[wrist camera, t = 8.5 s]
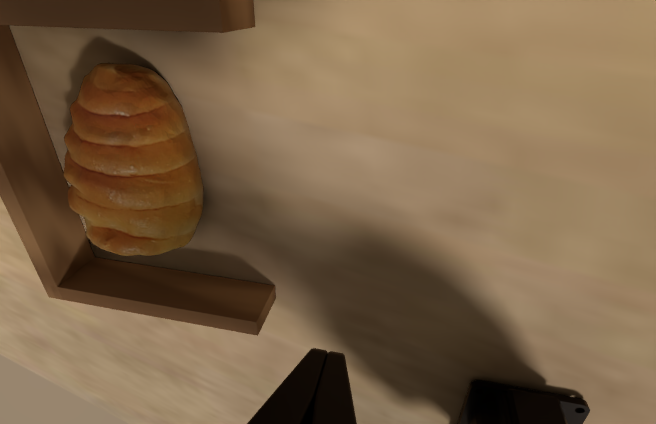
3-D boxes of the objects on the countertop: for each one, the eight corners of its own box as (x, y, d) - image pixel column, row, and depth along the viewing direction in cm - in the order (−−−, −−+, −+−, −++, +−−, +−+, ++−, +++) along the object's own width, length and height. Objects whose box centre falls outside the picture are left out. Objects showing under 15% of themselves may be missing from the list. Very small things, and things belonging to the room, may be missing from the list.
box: (275, 298, 23) (257, 335, 20) (86, 267, 25) (48, 297, 23) (253, -1, 15) (219, -1, 12) (-21, -6, 17) (-97, -7, 15)
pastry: (76, 47, 18) (2, 59, 15) (209, 74, 17) (161, 92, 14) (108, 212, 23) (57, 247, 20) (212, 237, 22) (177, 279, 19)
